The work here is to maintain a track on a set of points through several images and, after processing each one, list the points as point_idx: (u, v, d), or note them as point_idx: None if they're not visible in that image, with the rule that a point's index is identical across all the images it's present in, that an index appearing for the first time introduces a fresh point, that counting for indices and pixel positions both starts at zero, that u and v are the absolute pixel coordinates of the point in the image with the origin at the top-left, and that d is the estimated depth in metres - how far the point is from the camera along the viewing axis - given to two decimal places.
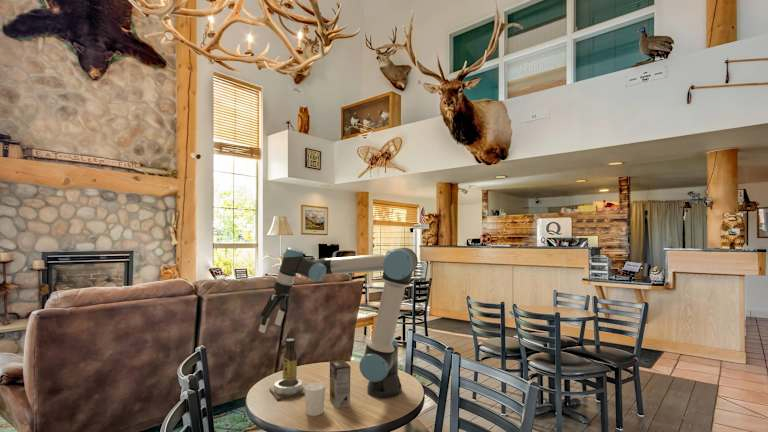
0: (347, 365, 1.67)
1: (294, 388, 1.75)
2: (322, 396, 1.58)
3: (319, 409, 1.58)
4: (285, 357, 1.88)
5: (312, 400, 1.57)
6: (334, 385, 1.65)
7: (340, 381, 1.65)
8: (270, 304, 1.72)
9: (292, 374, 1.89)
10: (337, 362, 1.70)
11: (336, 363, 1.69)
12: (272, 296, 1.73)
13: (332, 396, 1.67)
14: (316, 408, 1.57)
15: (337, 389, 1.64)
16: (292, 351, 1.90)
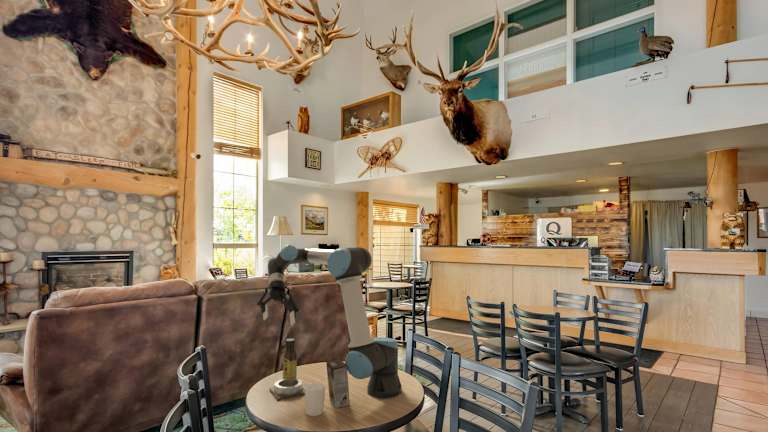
0: (343, 364, 1.67)
1: (294, 388, 1.75)
2: (322, 396, 1.58)
3: (319, 409, 1.58)
4: (285, 357, 1.88)
5: (312, 400, 1.57)
6: (332, 385, 1.65)
7: (338, 381, 1.64)
8: (263, 294, 1.88)
9: (292, 374, 1.89)
10: (333, 362, 1.69)
11: (332, 363, 1.68)
12: (264, 290, 1.91)
13: (331, 396, 1.67)
14: (316, 408, 1.57)
15: (335, 389, 1.64)
16: (292, 351, 1.90)
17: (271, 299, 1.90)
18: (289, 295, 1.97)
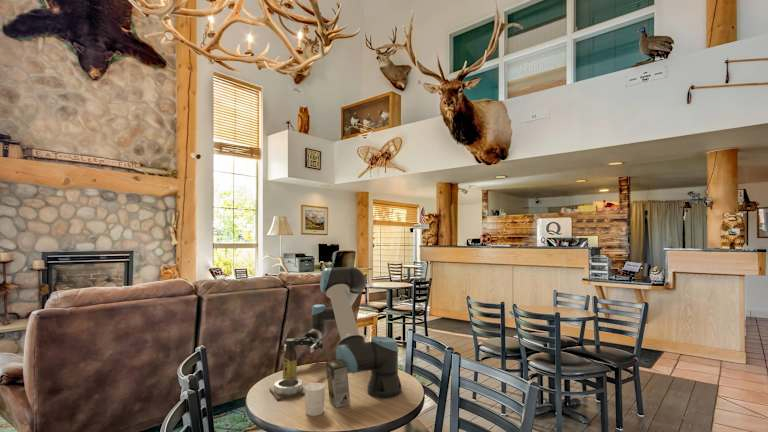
0: (343, 364, 1.67)
1: (294, 388, 1.75)
2: (322, 396, 1.58)
3: (319, 409, 1.58)
4: (285, 357, 1.88)
5: (312, 400, 1.57)
6: (332, 385, 1.65)
7: (338, 381, 1.64)
8: None
9: (292, 374, 1.89)
10: (333, 362, 1.69)
11: (332, 363, 1.68)
12: None
13: (331, 396, 1.67)
14: (316, 408, 1.57)
15: (336, 389, 1.64)
16: (292, 351, 1.90)
17: (300, 342, 2.13)
18: (318, 339, 2.15)
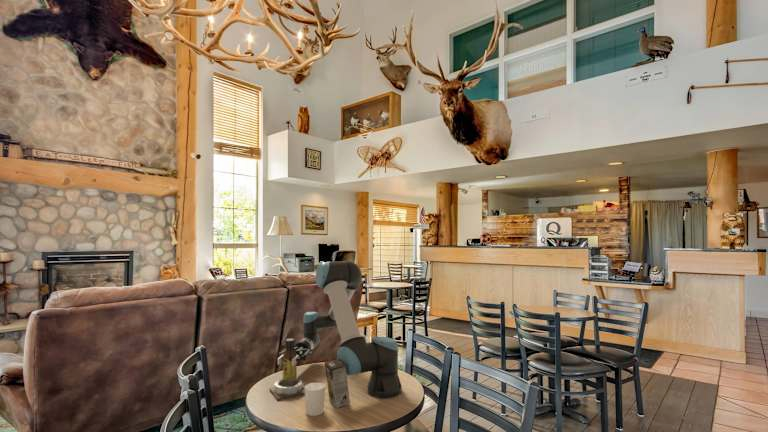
0: (342, 364, 1.67)
1: (294, 388, 1.75)
2: (322, 396, 1.58)
3: (319, 409, 1.58)
4: (285, 357, 1.88)
5: (312, 400, 1.57)
6: (331, 386, 1.65)
7: (337, 381, 1.64)
8: None
9: (292, 374, 1.89)
10: (332, 362, 1.69)
11: (331, 364, 1.68)
12: None
13: (331, 396, 1.67)
14: (316, 408, 1.57)
15: (335, 389, 1.64)
16: (292, 351, 1.90)
17: None
18: (309, 349, 2.01)
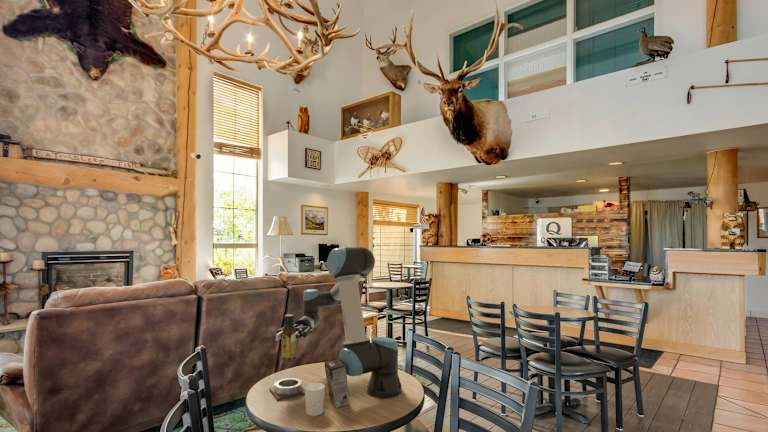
0: (342, 364, 1.67)
1: (294, 388, 1.75)
2: (322, 396, 1.58)
3: (319, 409, 1.58)
4: (284, 333, 1.77)
5: (312, 400, 1.57)
6: (331, 386, 1.65)
7: (337, 381, 1.64)
8: None
9: (291, 351, 1.78)
10: (331, 362, 1.69)
11: (330, 364, 1.68)
12: None
13: (331, 396, 1.67)
14: (316, 408, 1.57)
15: (335, 389, 1.64)
16: (291, 327, 1.79)
17: None
18: (309, 327, 1.90)
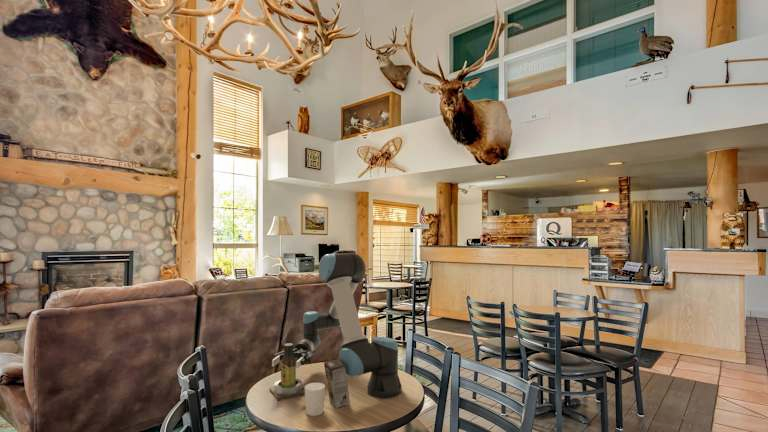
0: (341, 364, 1.67)
1: (294, 388, 1.75)
2: (322, 396, 1.58)
3: (319, 409, 1.58)
4: (283, 363, 1.77)
5: (312, 400, 1.57)
6: (331, 386, 1.65)
7: (337, 381, 1.64)
8: None
9: (291, 381, 1.77)
10: (331, 363, 1.69)
11: (330, 364, 1.68)
12: None
13: (331, 396, 1.67)
14: (316, 408, 1.57)
15: (335, 389, 1.64)
16: (291, 357, 1.78)
17: None
18: (310, 351, 1.90)
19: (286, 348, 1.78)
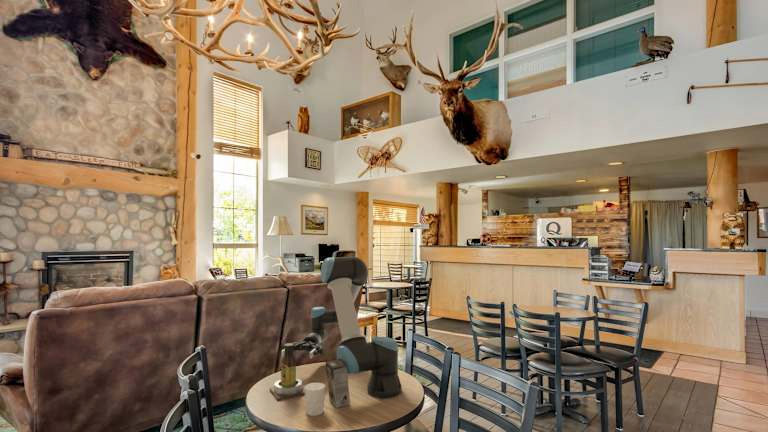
0: (343, 364, 1.67)
1: (294, 388, 1.75)
2: (322, 396, 1.58)
3: (319, 409, 1.58)
4: (283, 363, 1.77)
5: (312, 400, 1.57)
6: (332, 385, 1.65)
7: (338, 380, 1.64)
8: None
9: (291, 381, 1.77)
10: (333, 362, 1.69)
11: (332, 363, 1.68)
12: None
13: (331, 396, 1.67)
14: (316, 408, 1.57)
15: (335, 389, 1.64)
16: (291, 357, 1.78)
17: (298, 347, 2.00)
18: (318, 343, 2.03)
19: (286, 348, 1.78)
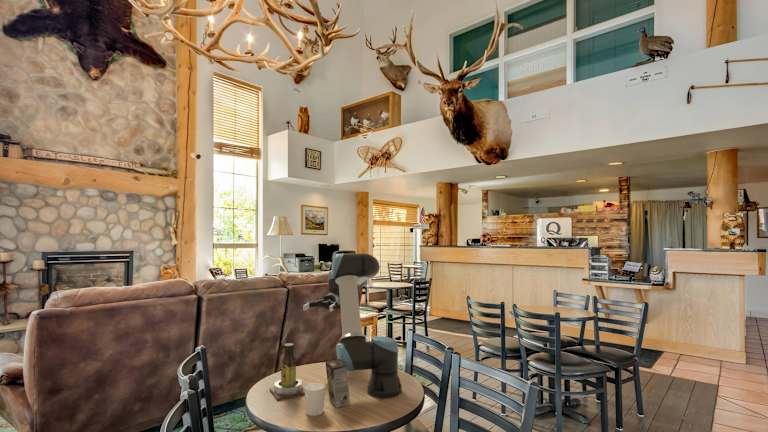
0: (343, 364, 1.67)
1: (294, 388, 1.75)
2: (322, 396, 1.58)
3: (319, 409, 1.58)
4: (283, 363, 1.77)
5: (312, 400, 1.57)
6: (332, 385, 1.65)
7: (338, 380, 1.64)
8: None
9: (291, 381, 1.77)
10: (333, 362, 1.69)
11: (332, 363, 1.68)
12: None
13: (331, 396, 1.67)
14: (316, 408, 1.57)
15: (335, 389, 1.64)
16: (291, 357, 1.78)
17: (318, 304, 2.15)
18: (336, 301, 2.17)
19: (286, 348, 1.78)
